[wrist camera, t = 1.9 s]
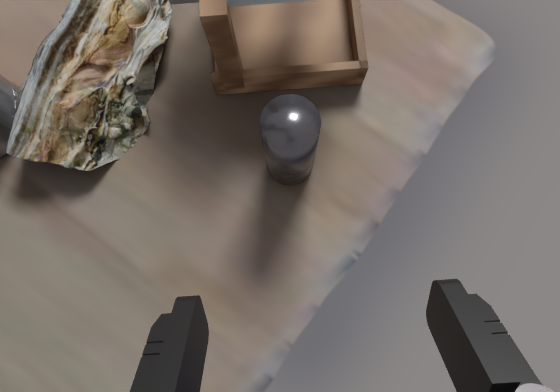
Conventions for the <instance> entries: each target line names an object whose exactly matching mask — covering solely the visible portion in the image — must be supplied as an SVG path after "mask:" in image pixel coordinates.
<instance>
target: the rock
mask: <svg viewBox="0 0 560 392" xmlns="http://www.w3.org/2000/svg"><path fill="white" fill-rule="evenodd" d="M173 6H174V4H170V3H169V1H168V0H71V2H70V3H69V5H68V7H67V8H66V10H65V12H64V13H63V15H62V17H63V19H62V20H61V21H59V24H58V25H57V27H56V28H55V29H54V30H53V31H52V32H51V33H50V34H49V35H48V36H47V37H46V38H45V39H44V40H43V41H42V43H41V45H40V46H39V48H38V51H37V53H36V56H35V57H34V60H33V64H32V68H31V70H30V72H29V74H28V76H27V78H26V79H25V81H24V84H23V87H22V89H21V91H22V93H23V94H22V97H21V101H20V104H19V107H18V109H17V112H16V114H15V117H14V120H13V124H12V129H11V133H10V137H9V141H8V145H7V150H6V153H7V154H9V155H11V156H14V157H17V158H21V159H25V160H29V161H35V162H50V163H55V164H58V165H61V166H64V167H65V168H68V169H71V168H75V169H78V170H85V171H91V170H94V169H96V168H98V167H100V166H102V165H104V164H107V163H109V162H112V161H114V160H116V159H120V158H121V157H122V156H123V155H124V153H125V152H128V149H129V148H130V147H133V146H134V143H136V142H137V138H138V137H139V136H140V135H141V134H140V132H141V130H142V127H143V126H145V127H146V129H147V128H148V126H149V124H150V119H149V117H148V115H147V111H148V109H147V108H145V107H144V106H145V104H146V103H147V102H148V100H149V99H150V97H151V96H152V94H153V90H154V83H155V77H156V74H155V73H156V71H157V69H158V65H159V61H160V58H161V55H162V52H163V50H164V47H165V45H166V42H167V39H168V37H167V30H168V28H169V25H170V24H169V21H170V18H171V15H172V9H173ZM146 129H145V131H146ZM144 133H145V132H144Z"/></svg>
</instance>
